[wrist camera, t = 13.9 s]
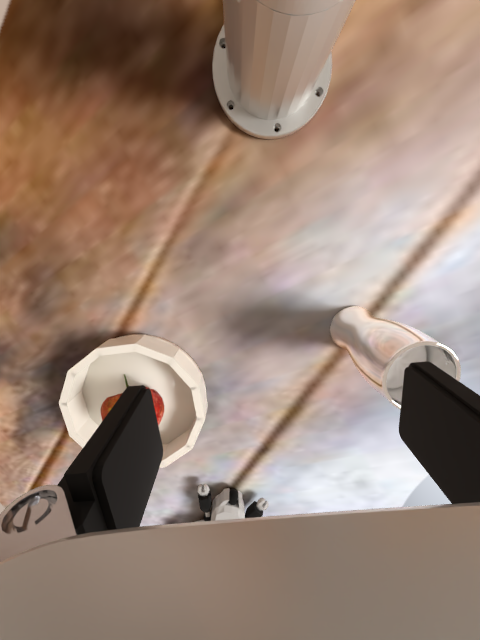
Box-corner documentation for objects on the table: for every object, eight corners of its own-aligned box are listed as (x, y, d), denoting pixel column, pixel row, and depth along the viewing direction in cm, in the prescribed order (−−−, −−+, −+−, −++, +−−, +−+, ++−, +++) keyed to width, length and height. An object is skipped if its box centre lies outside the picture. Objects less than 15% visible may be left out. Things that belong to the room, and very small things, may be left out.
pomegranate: (114, 387, 42) (126, 458, 38) (82, 378, 35) (93, 463, 31) (161, 369, 42) (178, 437, 38) (138, 356, 35) (156, 438, 31)
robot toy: (198, 468, 45) (174, 543, 48) (194, 490, 41) (168, 572, 43) (270, 486, 46) (243, 559, 49) (274, 510, 42) (244, 588, 44)
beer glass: (333, 358, 39) (389, 424, 25) (320, 312, 38) (371, 355, 23) (382, 342, 39) (469, 400, 24) (371, 295, 37) (457, 327, 23)
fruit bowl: (64, 342, 38) (42, 355, 34) (195, 326, 38) (189, 336, 34) (98, 453, 43) (83, 476, 39) (215, 439, 43) (212, 461, 38)
